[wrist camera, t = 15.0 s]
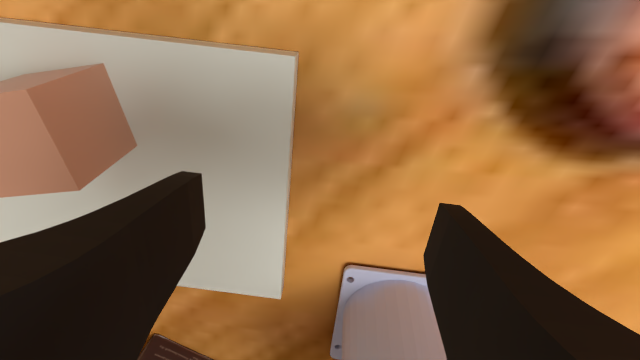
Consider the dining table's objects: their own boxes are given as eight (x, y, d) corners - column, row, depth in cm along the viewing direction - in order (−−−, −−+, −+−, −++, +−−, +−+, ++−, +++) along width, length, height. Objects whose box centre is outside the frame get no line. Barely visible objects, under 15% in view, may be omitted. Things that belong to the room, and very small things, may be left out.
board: (283, 286, 26) (270, 344, 22) (-18, 247, 26) (-87, 297, 22) (298, 51, 18) (282, 73, 14) (-133, 2, 18) (-273, 8, 14)
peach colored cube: (103, 63, 18) (25, 89, 13) (137, 145, 20) (79, 190, 16) (24, 74, 18) (-74, 102, 14) (65, 153, 20) (-9, 198, 16)
